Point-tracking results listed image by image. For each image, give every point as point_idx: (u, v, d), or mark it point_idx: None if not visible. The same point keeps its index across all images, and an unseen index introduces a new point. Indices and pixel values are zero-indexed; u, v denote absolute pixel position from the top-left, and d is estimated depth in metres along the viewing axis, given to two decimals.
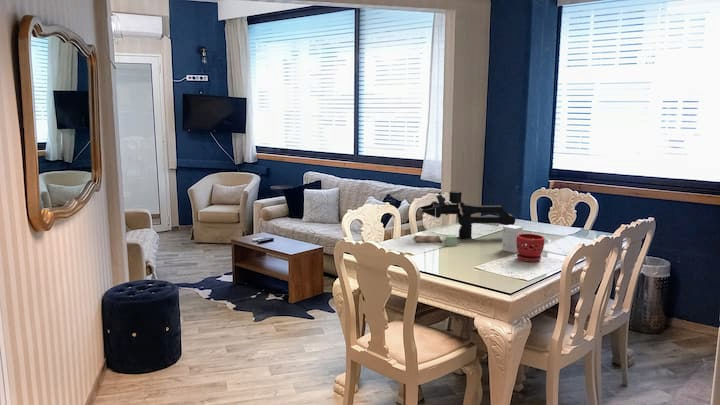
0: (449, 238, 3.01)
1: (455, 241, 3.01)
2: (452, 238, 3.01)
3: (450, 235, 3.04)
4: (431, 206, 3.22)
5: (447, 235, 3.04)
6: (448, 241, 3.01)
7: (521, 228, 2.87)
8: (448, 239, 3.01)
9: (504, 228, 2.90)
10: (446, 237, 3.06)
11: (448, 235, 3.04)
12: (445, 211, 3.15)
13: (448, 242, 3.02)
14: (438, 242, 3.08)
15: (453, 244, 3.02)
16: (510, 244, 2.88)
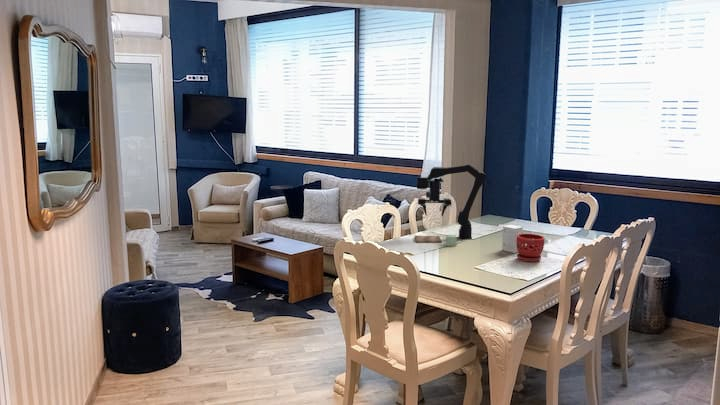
0: (449, 238, 3.01)
1: (455, 241, 3.01)
2: (452, 238, 3.01)
3: (450, 235, 3.04)
4: (443, 205, 3.19)
5: (447, 235, 3.05)
6: (448, 241, 3.01)
7: (521, 228, 2.87)
8: (448, 239, 3.01)
9: (504, 228, 2.89)
10: (446, 237, 3.06)
11: (448, 235, 3.04)
12: (430, 193, 3.17)
13: (448, 242, 3.02)
14: (438, 242, 3.08)
15: (453, 244, 3.02)
16: (510, 244, 2.88)
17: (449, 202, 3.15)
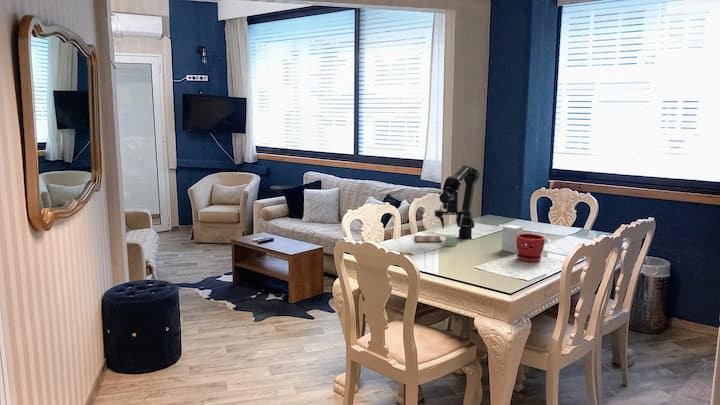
0: (449, 238, 3.01)
1: (455, 241, 3.01)
2: (452, 238, 3.01)
3: (450, 235, 3.04)
4: (461, 217, 3.02)
5: (447, 235, 3.05)
6: (448, 241, 3.01)
7: (521, 228, 2.87)
8: (448, 239, 3.01)
9: (504, 228, 2.90)
10: (446, 237, 3.06)
11: (448, 235, 3.04)
12: (447, 205, 3.00)
13: (448, 242, 3.02)
14: (438, 242, 3.08)
15: (453, 244, 3.02)
16: (510, 244, 2.88)
17: (468, 214, 2.98)
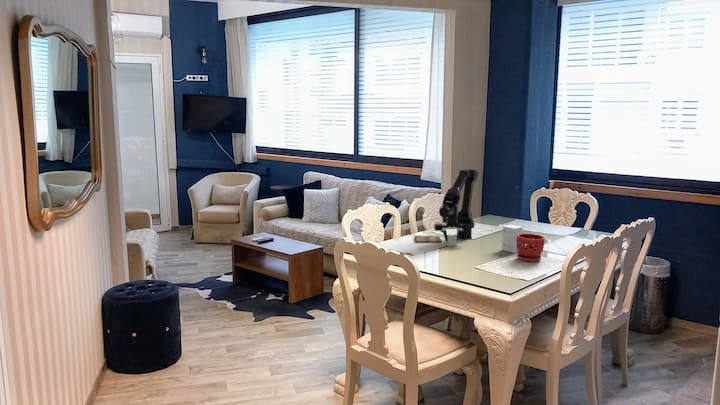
0: (449, 238, 3.01)
1: (455, 241, 3.01)
2: (452, 238, 3.01)
3: (450, 235, 3.04)
4: (457, 231, 3.03)
5: (447, 235, 3.04)
6: (448, 241, 3.01)
7: (521, 228, 2.87)
8: (448, 239, 3.01)
9: (504, 228, 2.90)
10: None
11: (448, 235, 3.04)
12: (447, 218, 3.01)
13: (448, 242, 3.01)
14: (438, 242, 3.08)
15: (453, 244, 3.02)
16: (510, 244, 2.88)
17: (467, 228, 2.99)
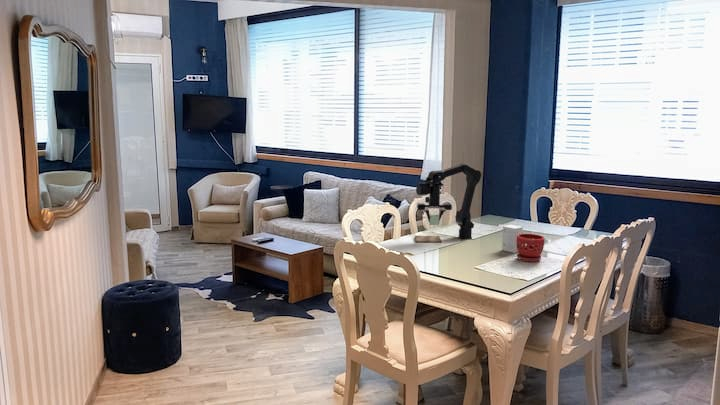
0: (432, 217, 3.07)
1: (437, 220, 3.07)
2: (434, 217, 3.07)
3: (433, 214, 3.10)
4: (439, 210, 3.09)
5: (430, 214, 3.10)
6: (431, 220, 3.07)
7: (521, 228, 2.87)
8: (431, 218, 3.07)
9: (504, 228, 2.90)
10: None
11: (431, 214, 3.10)
12: (429, 198, 3.07)
13: (431, 221, 3.07)
14: (438, 242, 3.08)
15: (435, 223, 3.07)
16: (510, 244, 2.88)
17: (449, 207, 3.05)
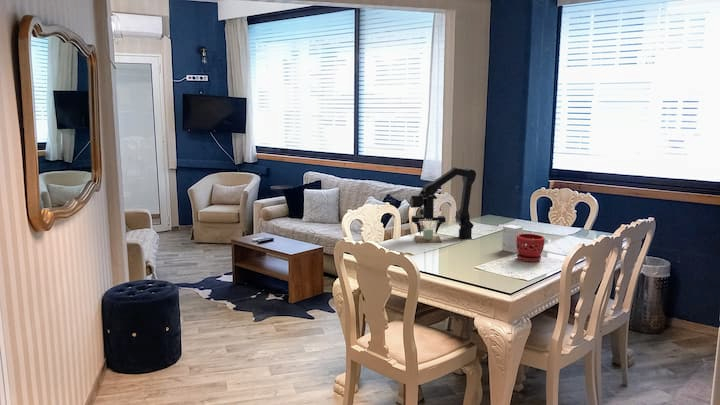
0: (425, 232, 3.11)
1: (431, 235, 3.11)
2: (428, 232, 3.11)
3: (427, 229, 3.14)
4: (436, 223, 3.13)
5: (424, 229, 3.15)
6: (425, 235, 3.11)
7: (521, 228, 2.87)
8: (424, 233, 3.11)
9: (504, 228, 2.90)
10: (423, 231, 3.16)
11: (425, 229, 3.14)
12: (423, 211, 3.11)
13: (424, 235, 3.12)
14: (438, 242, 3.08)
15: (429, 237, 3.12)
16: (510, 244, 2.88)
17: (443, 220, 3.09)
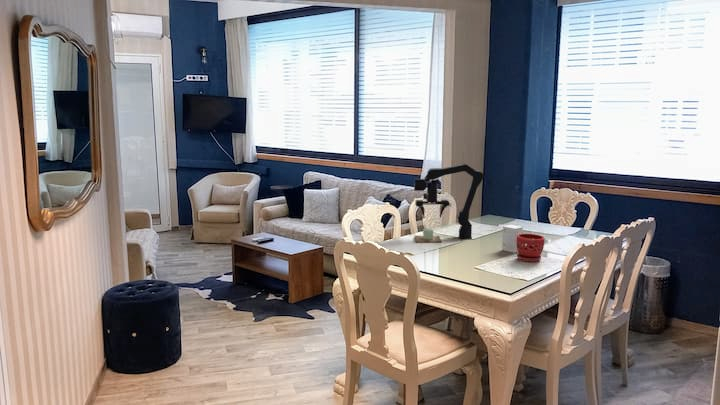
0: (425, 232, 3.11)
1: (431, 235, 3.11)
2: (428, 232, 3.11)
3: (427, 229, 3.14)
4: (440, 206, 3.18)
5: (424, 229, 3.15)
6: (425, 235, 3.11)
7: (521, 228, 2.87)
8: (424, 233, 3.11)
9: (504, 228, 2.90)
10: (423, 231, 3.16)
11: (425, 229, 3.14)
12: (427, 195, 3.16)
13: (424, 235, 3.12)
14: (438, 242, 3.08)
15: (429, 237, 3.12)
16: (510, 244, 2.88)
17: (447, 203, 3.14)
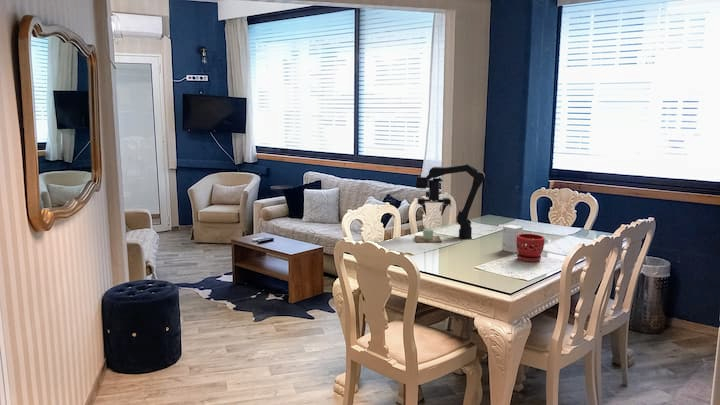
0: (425, 232, 3.11)
1: (431, 235, 3.11)
2: (428, 232, 3.11)
3: (427, 229, 3.14)
4: (442, 205, 3.21)
5: (424, 229, 3.15)
6: (425, 235, 3.11)
7: (521, 228, 2.87)
8: (424, 233, 3.11)
9: (504, 228, 2.90)
10: (423, 231, 3.16)
11: (425, 229, 3.14)
12: (429, 193, 3.19)
13: (424, 235, 3.12)
14: (438, 242, 3.08)
15: (429, 237, 3.12)
16: (510, 244, 2.88)
17: (448, 201, 3.17)
